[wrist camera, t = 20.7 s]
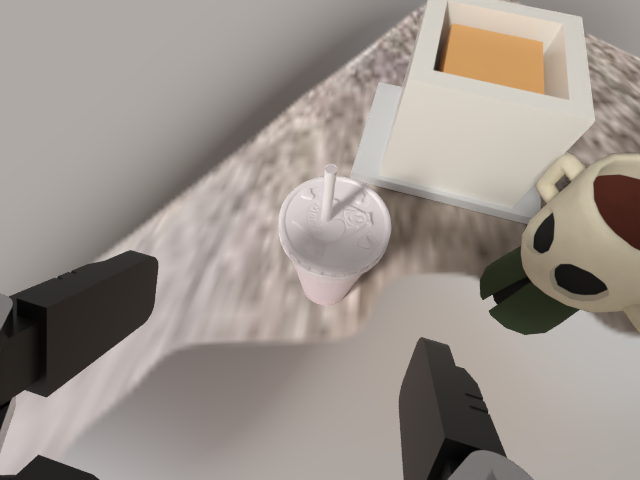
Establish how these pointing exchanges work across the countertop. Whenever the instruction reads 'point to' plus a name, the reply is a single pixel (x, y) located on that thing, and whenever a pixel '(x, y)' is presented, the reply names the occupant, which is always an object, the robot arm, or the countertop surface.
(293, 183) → the countertop surface
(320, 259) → the smoothie
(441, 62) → the orange block
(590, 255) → the character mug
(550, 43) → the white open box
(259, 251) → the countertop surface
